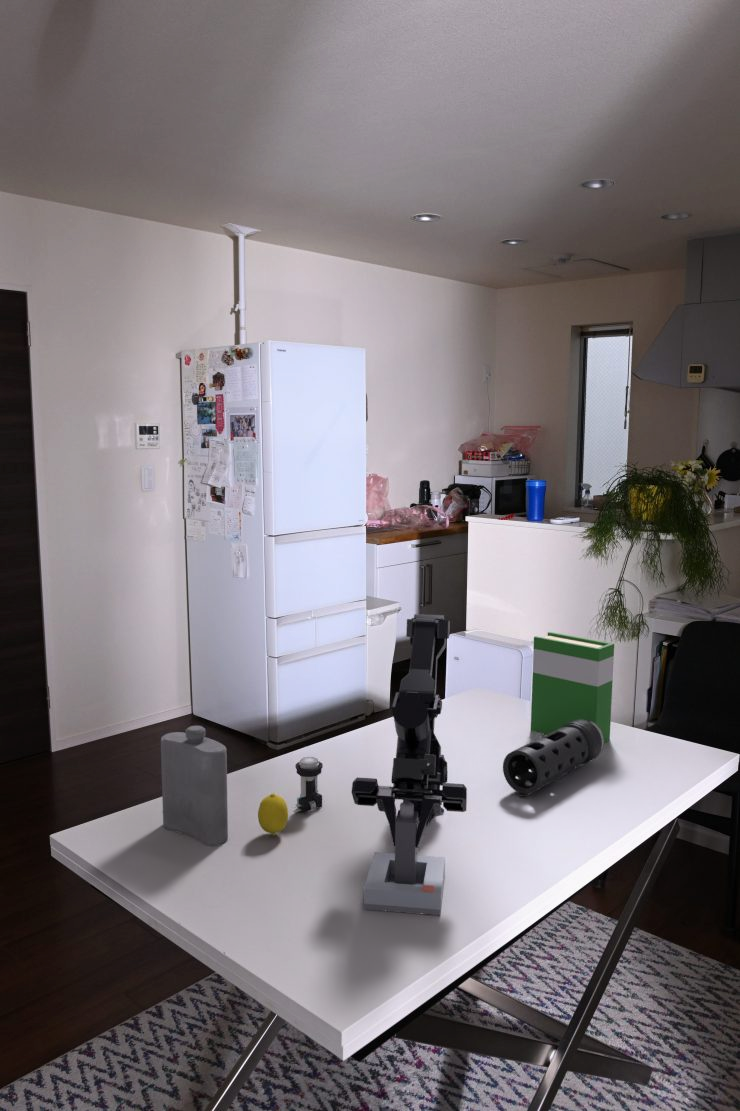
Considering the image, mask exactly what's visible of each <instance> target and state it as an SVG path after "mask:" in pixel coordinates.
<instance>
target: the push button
mask: <svg viewBox="0 0 740 1111" xmlns="http://www.w3.org/2000/svg"><path fill="white" fill-rule="evenodd" d="M323 767H324V766H323V763H322V762H321V761H319V759H318V758H317V757H314V756H306V757H301V758H300V759H299V761H298V762H297V763H295V769H296V774H297V775H298V776H299V777H300V794H299V796H298V797H297V798H296V802H297V803H296V804H295V805H292V806H291V808H293V810H292V812H293V813H297V812H300V813H302V814H303V813H306V812H309V811H310V812H313V811H315V810H316V809H321V808H322V807H323V795H322V794H321V793H319V789H318V776H320V775H321V774H322V769H323ZM317 807H318V808H317ZM320 807H321V808H320ZM295 808H296V809H295Z"/></svg>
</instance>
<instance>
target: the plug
mask: <svg viewBox="0 0 740 1111" xmlns="http://www.w3.org/2000/svg"><path fill="white" fill-rule="evenodd" d="M418 823H419V818H418V811H414V804H413V803H411V802H403V801H402V802H401V803H400V804H399V809H398V810H397V813H396V821H395V846H394V854H395V883H397V884H410V885H415V883H416V877H417V855H418V848H416V833H417V828H418Z"/></svg>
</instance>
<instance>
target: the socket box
mask: <svg viewBox="0 0 740 1111" xmlns="http://www.w3.org/2000/svg"><path fill="white" fill-rule="evenodd" d="M445 879H446V857H444V856H434V855H432V856H431V855H418V854H417V877H416V883H415V885H410V884H397V883H395V852H394V853H392V852H391V853H390V852H378V851H374V852H373V855H372V859H371V863H370V866H369V870H368V873H367V876H366V880H365V883H364V887H363V910H364V911H365V910H367V911H377V910H382V911H381V912H389V911H399V912H398V913H401V912H409V913H408V914H413V913H423V914H422V915H425V914H431V915H430V916H437V915H442V905H443V897H444V890H445V889H444V888H445ZM385 910H386V911H385Z"/></svg>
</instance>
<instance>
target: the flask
mask: <svg viewBox="0 0 740 1111" xmlns="http://www.w3.org/2000/svg"><path fill="white" fill-rule="evenodd" d="M227 752H228V751H227V747H226V746H225V745H224V744H223V743H221V742H220V741H217V740H215V739H213V738H212V739H211V738H209V737H206V728H204V726H202V725H190V726H189V727H187V728H186V729H185V732H183V731H182V732H181V731H180V732H179V731H175V732H168V733H166V734H164V735H162V736H161V738H160V755H161V757H160V759H161V760H160V761H161V763H160V764H161V788H162V789H161V791H162V795H161V796H162V797H161V798H162V822H163V823H162V824H163V828H165V829H166V830H169V831H172V830H173V831H174V832H178V833H180V832H181V834H185V835H187V836H189V835H190V836H189V837H191V836H192V838H194V839H196V840H197V841H199V842H201V843H202V844H204V845H206V846H213V847H214V845H215V846H219V845H222V844H224V843H225V842H226V841H228V838H229V822H228V821H229V820H228V817H229V816H228V814H229V813H228V811H229V809H228V764H227V762H228V759H227Z"/></svg>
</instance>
